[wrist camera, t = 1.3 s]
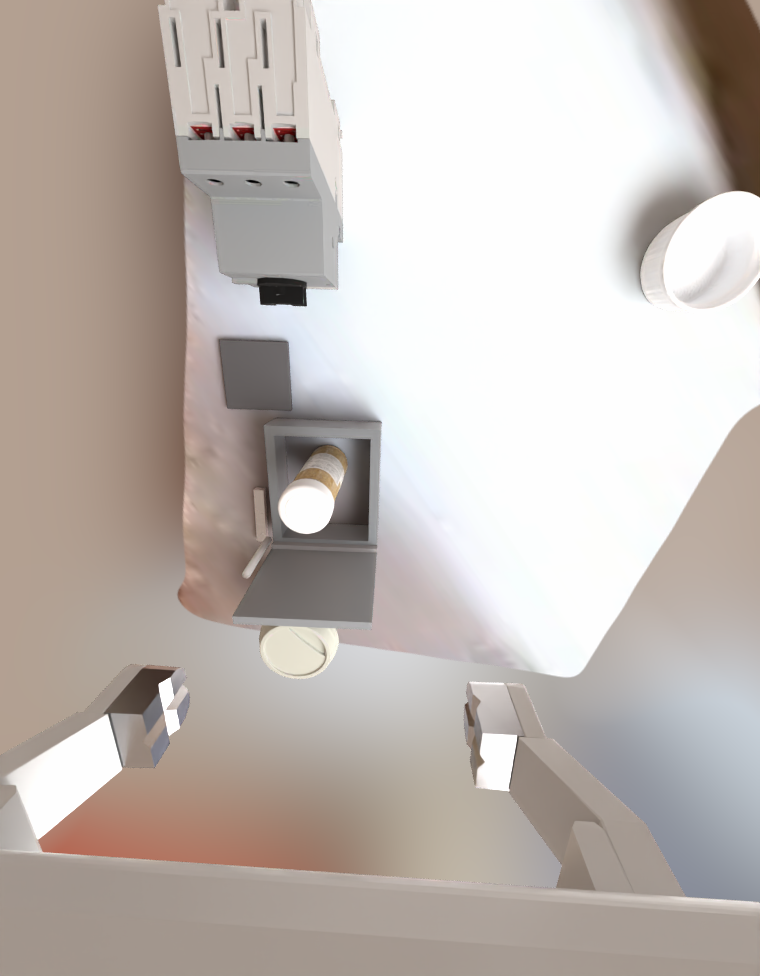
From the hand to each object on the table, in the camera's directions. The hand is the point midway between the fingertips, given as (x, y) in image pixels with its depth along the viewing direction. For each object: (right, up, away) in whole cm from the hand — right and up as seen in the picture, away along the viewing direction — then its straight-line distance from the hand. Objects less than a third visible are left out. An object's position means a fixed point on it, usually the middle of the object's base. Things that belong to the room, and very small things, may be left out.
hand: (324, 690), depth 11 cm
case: (-4, +7, +33) cm, 34 cm away
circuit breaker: (-6, +30, +24) cm, 39 cm away
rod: (-13, +3, +36) cm, 38 cm away
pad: (-12, +18, +29) cm, 36 cm away
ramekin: (+30, +27, +25) cm, 47 cm away
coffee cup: (-7, -7, +39) cm, 40 cm away
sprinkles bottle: (-4, +9, +33) cm, 34 cm away
